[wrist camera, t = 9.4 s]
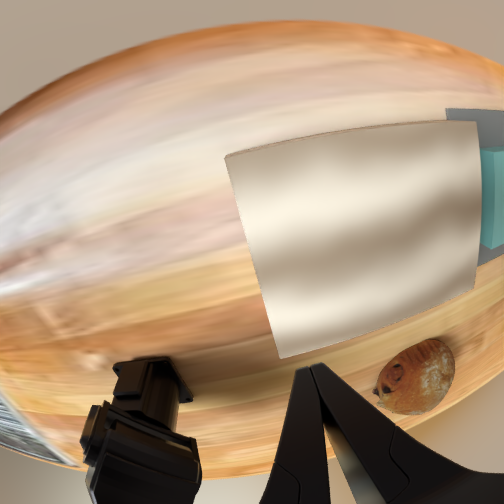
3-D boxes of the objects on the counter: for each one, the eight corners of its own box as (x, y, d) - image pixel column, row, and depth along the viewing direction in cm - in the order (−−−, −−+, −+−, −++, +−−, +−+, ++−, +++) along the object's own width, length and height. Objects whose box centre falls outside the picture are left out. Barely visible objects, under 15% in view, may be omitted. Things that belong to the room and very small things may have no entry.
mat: (520, 243, 22) (521, 244, 22) (451, 276, 23) (453, 277, 22) (519, 112, 16) (521, 113, 16) (445, 108, 17) (447, 108, 16)
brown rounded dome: (405, 372, 33) (445, 400, 26) (358, 411, 28) (402, 448, 22) (426, 317, 29) (476, 345, 23) (378, 354, 25) (438, 396, 18)
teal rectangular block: (491, 249, 19) (475, 240, 21) (520, 235, 19) (505, 227, 21) (493, 152, 15) (474, 148, 18) (522, 149, 15) (505, 145, 17)
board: (448, 269, 22) (473, 288, 19) (272, 326, 23) (279, 359, 19) (443, 120, 17) (476, 121, 13) (225, 155, 18) (224, 158, 14)
